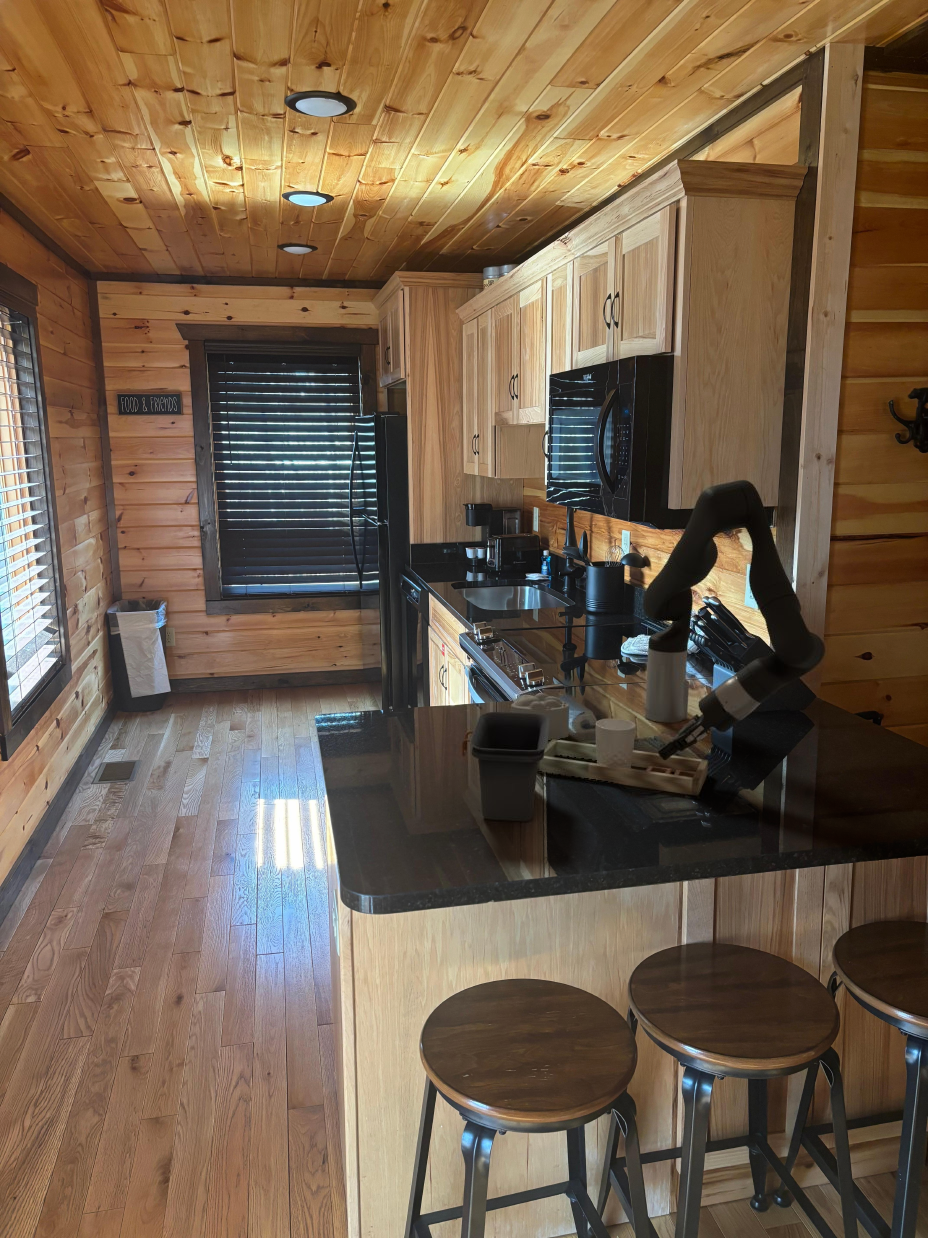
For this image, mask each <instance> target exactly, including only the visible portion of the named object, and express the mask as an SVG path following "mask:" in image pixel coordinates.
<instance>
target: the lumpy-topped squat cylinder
mask: <svg viewBox="0 0 928 1238" xmlns="http://www.w3.org/2000/svg"><path fill="white" fill-rule="evenodd" d="M510 712H513V713H534V714H541V715H545V716H547V717H548V718H549V719H550V722H549V738H548V740H549V739H560V738H564V739H566V738H565V737H567V738H569V733H570V729H569V728H570V705H569V704H568V703H567V702H565V701H563V700H561V699H560V698H559V697H556V696H552V695H551V696H550V695H548V694H546V693H545V692H544V693H543V692H538V693H536V694H535V695H531V694H522V695H520V696H519V697H516V698H515V699H514V700H513V703H511V705H510ZM560 740H561V739H560Z"/></svg>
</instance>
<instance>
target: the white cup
mask: <svg viewBox="0 0 928 1238" xmlns="http://www.w3.org/2000/svg"><path fill="white" fill-rule="evenodd" d="M636 726H637V725H636V723H634V722H633V721H630V720H627V719H623V718H602V719H599V720H597V721H596V722H595V745H596V758H597V761H596V764H603V765H610V766H617V767H623V768H630V769H632V766H631V761H632V758H633V750H635V749H634V748H635V739H636V738H635V737H636V736H635V735H636Z"/></svg>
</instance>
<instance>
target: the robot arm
mask: <svg viewBox="0 0 928 1238" xmlns="http://www.w3.org/2000/svg"><path fill="white" fill-rule="evenodd" d="M762 500H763V499H762V498H761V496H760V493H759V492H758V489H757V488H756V486H755V485H754V484H753V483H752V482H750V481H749V480H746V479H739V480H735V481H734V480H733V481H730V482H726V483H720V484H715V485H712V486H709V487H707V488H705V489H704V490H702V492H701V493H700V494H699V496H698V499H697V500H696V502H695V505H694V508H693V510H692V513H691V516H690V517H689V520H688V522H687V525H686V527H685V529H684V530H683V533H682V534H681V536H680V538H679V539H678V541H677V543H676V544H675V546H674V547H673V549H672V551H671V553H670V555H669V557H668V559H667V561H666V562H665V564H664V565H663V567H662V568H661V570H660V571H659V572H658V574H657V575H656V576H655V577H654V578H653V580H652V581H651V582H650V583H649V584H648V586H647V588H646V589H645V592H644V595H643V598H642V599H643V600H642V610H643V612H644V615H645V617H646V618H648V620H651V621H654V622H655V621H656V622H671V623H670V625H668V627H667V628H665V629H663V630H661V631H659V632H656V633H653V634H651V635H650V636H649V638H648V647H647V665H646V667H647V668H646V683H645V684H646V688H645V703H644V706H645V708H644V717H645V718H646V719H648V720H649V721H653V722H658V723H666V724H667V723H679V722H682V721H684V720H687V719H688V708H689V706H688V705H689V689H690V681H689V680H688V679H687V665H688V664H687V661H688V647H689V640H690V630H691V622H692V621H691V620H692V614H693V613H692V612H693V604H694V603H693V598H694V597H693V596H694V595H693V591H692V588H693V587H695V586H697V585H698V584H700V583H702V582H703V581H704V580H705V579H706V578H707V577H708V576H709V574H710V572H711V571H712V570H713V568H714V567H715V565H716V563H717V561H718V558H719V556H718V555H719V551H718V546H717V544H716V542H715V540H714V538H715V537H716V536H717V535H719V534H721V533H725V532H728V531H733V530H739V529H740V528H745V530H746V531H747V533H748V536H749V538H750V541H751V559H750V566H749V572H748V573H749V574H748V583H749V584H748V585H749V588H750V591H751V593H752V594H751V595H752V596H753V599H754V601H755V602H756V605H757V607H758V609H759V611H760V614H761V615H762V617H763V618H764V621H765V626H766V631H767V634H768V637H769V640H770V643H771V646H772V648H773V650H774V651H773V652H772V653H770V654H769V655H767V656H764V657H758V658H756V659H754V660H752V661H751V662H749V663H748V664H747V665H746V666H744V667H743V668H742V669H740V670H739V671H738V672H737V673H735V674H734V675H732V676H731V677H729V678H727V679H725V680H723V682H721V683H720V684H719V685H718V686H717V687H716V688H714V689H713V690H712V691H710V692H709V693H708V694H706V695H705V696H704V697H703V698H701V699H699V701H698V709H699V711H700V713H701V714H700V715H699V714H697V713H696V714H695V715H693V716H692V717H691V719H690V720H689V721H688V722H687V723H685V724H684V725H683V726H682V727H680V730H679V731H677V733H676V735H674V736H673V738H672V739H671V740H670V741H668V742H667V743H666V744H664V745H663V746H662V747H660V748H659V750H658V752H657V753H658V754H659V755H660V757H661V758H662V759H663V760H667V759H668V758H669V757H671V756H674V755H675V754H676V753H677V752H678V751H679V752H683V751H684V750H686V749H688V748H690V747H691V746H693V745H696V744H697V742H698V741H700V740H702V739H704V738H705V737H707V736H708V735H709V734H710V732H711V730H712V729H711V728H714V729H715V730H716V731H718V732H720V733H726V732H728V731H729V730H730V729H731V728H732V727H735V725H737V724H738V723H740V722H741V721H742V720H743V719H744V718H746V717H747V716H749V715H750V714H751V713H753V711H755V710H756V709H757V707H759V705H761V704H762V703H763V702H766V700H768V698H770V697H771V696H773V695H774V694H775V693H776V692H777V691H778V690H780V689H782V688H783V687H785V686H786V685H788V684H791V683H793V682H794V681H796V680H797V679H800V678H801V677H803V676H805V675H806V674H808V673H810V672H812V670H814V669H815V668H816V667H817V666H818V665H819V664H820V663H821V662H822V661H823V660H824V656H825V653H826V646H825V643H824V641H823V640H822V638H821V637H820V636H819V635H817V634H815V633H814V632H811V631H810V630H809V629H808V627H807V625H806V623H805V620H804V618H803V616H802V614H801V611H802V605H801V602H800V600H799V598H798V596H797V594H796V591H795V590H794V587H793V585H792V583H791V581H790V580H789V577H788V575H787V573H786V571H785V569H784V566H783V563H782V561H781V559H780V556H779V552H778V549H777V545H776V541H775V538H774V535H773V531H772V528H771V526H770V523H769V519H768V516H767V513H766V509H765V507H764V503H763V501H762Z"/></svg>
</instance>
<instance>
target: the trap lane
mask: <svg viewBox="0 0 928 1238" xmlns="http://www.w3.org/2000/svg"><path fill="white" fill-rule="evenodd" d="M555 755H556V756H560V755H562V756H561V757H567V756H569V758H574V757H576V758H575V759H581V758H584V759H583V760H588V759H592V760H591V761H595V760H597V758H596V744H591V743H585V742H578V741H577V742H576V741H568V740H563V739H560V740H556V739H552V740H551V741H548V744H547V748H545V751H544V757H543V759H542V760H540V761H538V765H537V772H539V771H542V772H541V773H545V772H547V773H546V774H552V773H553V774H552V775H558V774H561V775H560V776H565V775H566V777H571V776H575V777H574V778H578V777H581V778H580V779H584V778H589V779H588V780H591V779H596V780H595V781H597V780H602V781H601V782H604V781H608V782H607V783H611V782H613V783H612V784H617V783H618V785H625V786H632V787H637V788H645V789H651V790H657V791H663V792H664V791H665V792H670V793H675V794H676V793H677V794H683V795H690V796H695V797H696V796H699V794H700V792H701V789H702V787H703V785H704V783H705V781H706V779H707V776H708V772H709V770H708V769H709V760H707V759H700V758H694V757H693V758H692V757H686V756H677V755H672V756H671V757H669V758H668V759H667V760H663V759H662V758H661V757H660V755H659V754H658V752H657V753H656V752H649V751H641V750H635V749H633V758H632V761H631V767H635V768H631V769H630V768H623V767H617V766H610V765H603V764H597V762H596V763H594V762H587V761H582V760H581V761H580V760H574V759H568V758H561V757H556V756H555ZM554 756H555V757H554ZM636 767H637V768H644V769H645V768H646V770H643V769H637V768H636ZM672 773H674V774H672Z"/></svg>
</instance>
